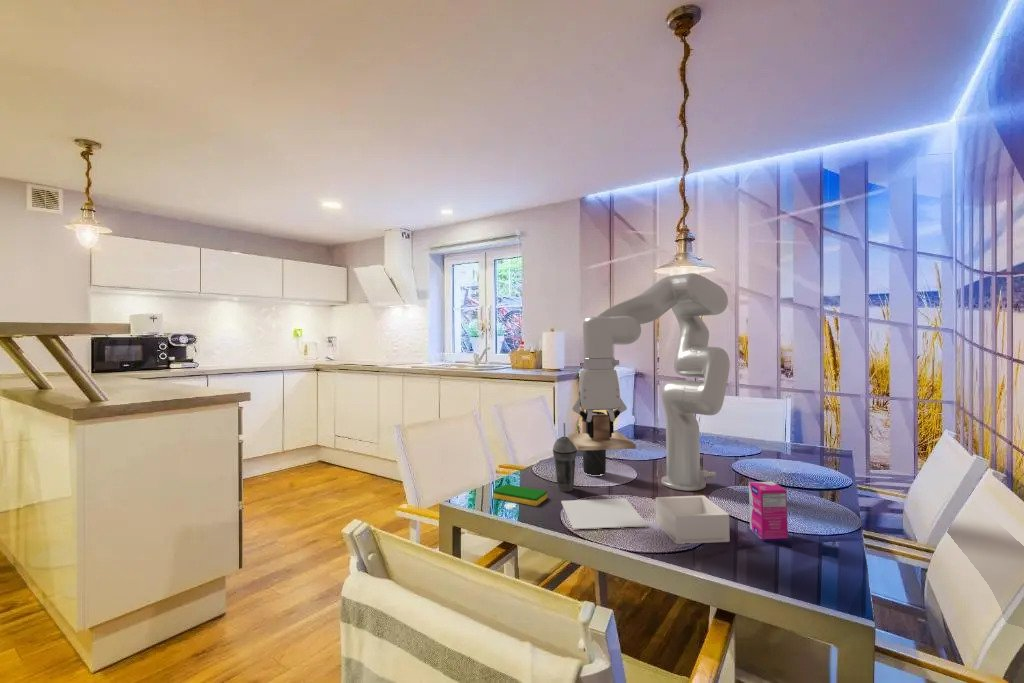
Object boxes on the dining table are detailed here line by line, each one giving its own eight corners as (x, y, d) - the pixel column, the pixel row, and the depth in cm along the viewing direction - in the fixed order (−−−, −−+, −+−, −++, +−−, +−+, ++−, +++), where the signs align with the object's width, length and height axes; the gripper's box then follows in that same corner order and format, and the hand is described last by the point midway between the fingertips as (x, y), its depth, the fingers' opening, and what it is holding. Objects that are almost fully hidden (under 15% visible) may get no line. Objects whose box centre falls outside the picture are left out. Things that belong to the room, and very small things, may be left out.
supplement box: (748, 530, 105) (747, 481, 105) (774, 530, 105) (774, 480, 105) (761, 541, 100) (760, 489, 100) (789, 541, 99) (788, 489, 99)
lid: (619, 436, 124) (618, 410, 124) (635, 448, 110) (635, 419, 110) (568, 437, 123) (567, 411, 123) (578, 450, 109) (577, 421, 109)
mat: (625, 500, 126) (625, 498, 126) (648, 527, 108) (648, 525, 108) (561, 502, 125) (561, 500, 125) (573, 530, 108) (573, 528, 107)
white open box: (704, 519, 112) (703, 495, 112) (729, 541, 100) (729, 514, 100) (656, 521, 111) (655, 497, 111) (675, 544, 99) (675, 516, 99)
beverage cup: (577, 485, 140) (576, 420, 140) (578, 493, 133) (577, 424, 132) (553, 484, 141) (552, 420, 140) (553, 492, 133) (551, 424, 133)
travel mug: (608, 476, 147) (607, 415, 147) (584, 477, 147) (583, 415, 147) (604, 469, 155) (602, 411, 155) (581, 470, 155) (580, 411, 155)
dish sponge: (505, 491, 137) (505, 483, 136) (547, 499, 130) (547, 490, 130) (493, 499, 130) (493, 491, 130) (536, 507, 123) (536, 498, 123)
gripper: (626, 363, 121) (627, 432, 121) (563, 364, 120) (565, 434, 120) (635, 365, 113) (636, 438, 113) (568, 366, 112) (570, 440, 112)
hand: (599, 435), depth 117 cm, fingers closed on lid, 4 cm apart
